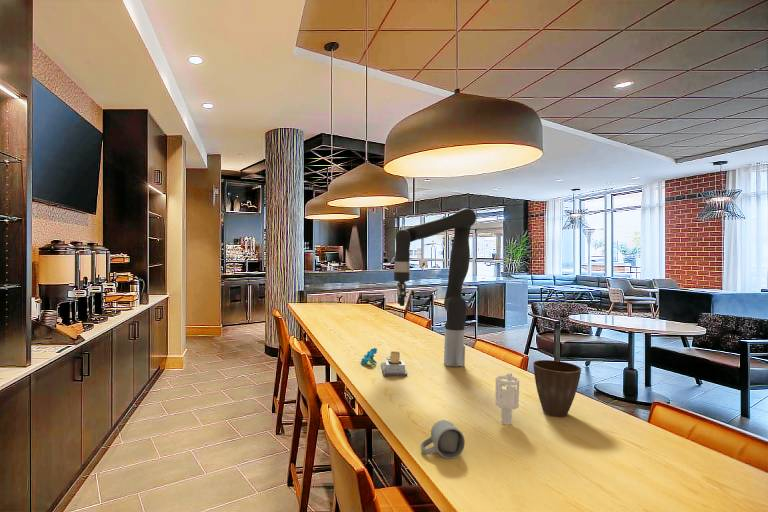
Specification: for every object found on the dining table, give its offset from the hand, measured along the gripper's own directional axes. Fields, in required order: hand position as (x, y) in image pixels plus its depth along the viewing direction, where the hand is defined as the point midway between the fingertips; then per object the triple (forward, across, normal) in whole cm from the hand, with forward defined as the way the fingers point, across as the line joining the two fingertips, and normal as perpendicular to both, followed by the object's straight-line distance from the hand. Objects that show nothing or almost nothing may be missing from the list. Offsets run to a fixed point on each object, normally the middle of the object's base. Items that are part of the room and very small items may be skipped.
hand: (400, 304), depth 199 cm
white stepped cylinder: (+28, -71, -26) cm, 81 cm away
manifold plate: (+28, -13, +4) cm, 31 cm away
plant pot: (+28, -63, -46) cm, 83 cm away
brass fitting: (+27, -17, +4) cm, 32 cm away
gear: (+28, -2, +15) cm, 32 cm away
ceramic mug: (+28, -90, -1) cm, 95 cm away
